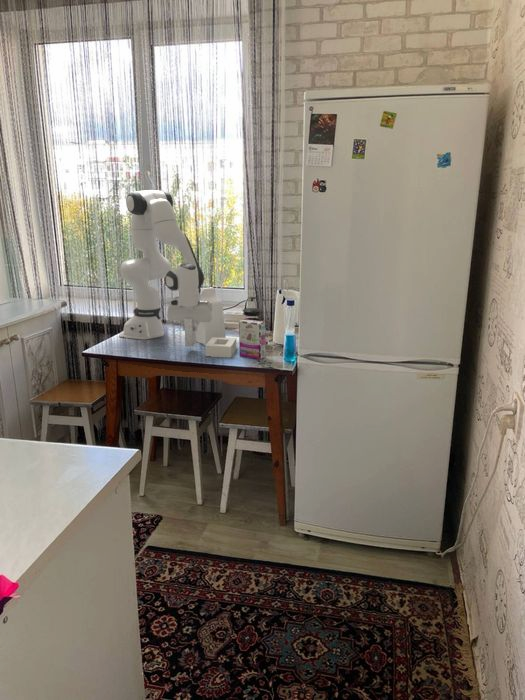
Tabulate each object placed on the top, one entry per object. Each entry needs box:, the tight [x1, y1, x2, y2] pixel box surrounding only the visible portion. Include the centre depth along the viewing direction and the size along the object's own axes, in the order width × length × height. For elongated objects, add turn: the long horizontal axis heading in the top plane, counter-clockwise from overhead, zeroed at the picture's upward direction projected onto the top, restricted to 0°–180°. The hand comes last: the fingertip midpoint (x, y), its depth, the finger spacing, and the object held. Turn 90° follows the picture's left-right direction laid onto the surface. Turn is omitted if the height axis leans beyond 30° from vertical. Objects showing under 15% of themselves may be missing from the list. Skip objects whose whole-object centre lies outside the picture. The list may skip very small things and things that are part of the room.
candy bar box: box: [238, 318, 267, 361], centre depth 230 cm, size 11×5×16 cm, turn 59°
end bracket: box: [184, 318, 197, 347], centre depth 238 cm, size 4×6×13 cm, turn 173°
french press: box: [242, 296, 263, 321], centre depth 247 cm, size 12×9×23 cm
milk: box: [195, 287, 227, 346], centre depth 254 cm, size 12×12×26 cm
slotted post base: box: [204, 337, 237, 358], centre depth 238 cm, size 12×14×5 cm
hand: (190, 330), depth 238 cm, fingers closed on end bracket, 3 cm apart
